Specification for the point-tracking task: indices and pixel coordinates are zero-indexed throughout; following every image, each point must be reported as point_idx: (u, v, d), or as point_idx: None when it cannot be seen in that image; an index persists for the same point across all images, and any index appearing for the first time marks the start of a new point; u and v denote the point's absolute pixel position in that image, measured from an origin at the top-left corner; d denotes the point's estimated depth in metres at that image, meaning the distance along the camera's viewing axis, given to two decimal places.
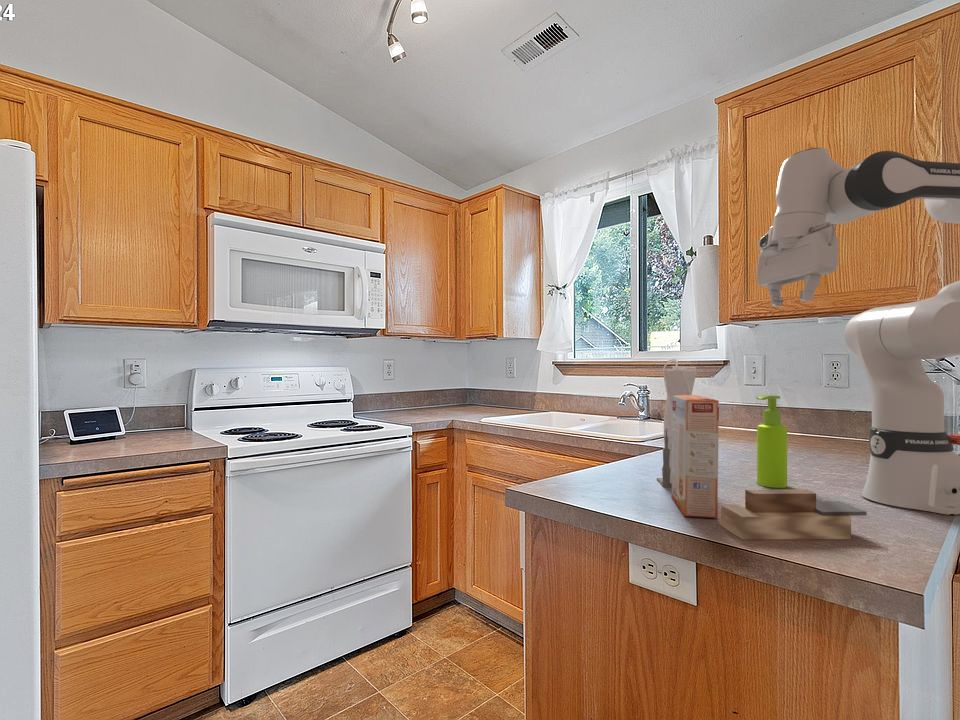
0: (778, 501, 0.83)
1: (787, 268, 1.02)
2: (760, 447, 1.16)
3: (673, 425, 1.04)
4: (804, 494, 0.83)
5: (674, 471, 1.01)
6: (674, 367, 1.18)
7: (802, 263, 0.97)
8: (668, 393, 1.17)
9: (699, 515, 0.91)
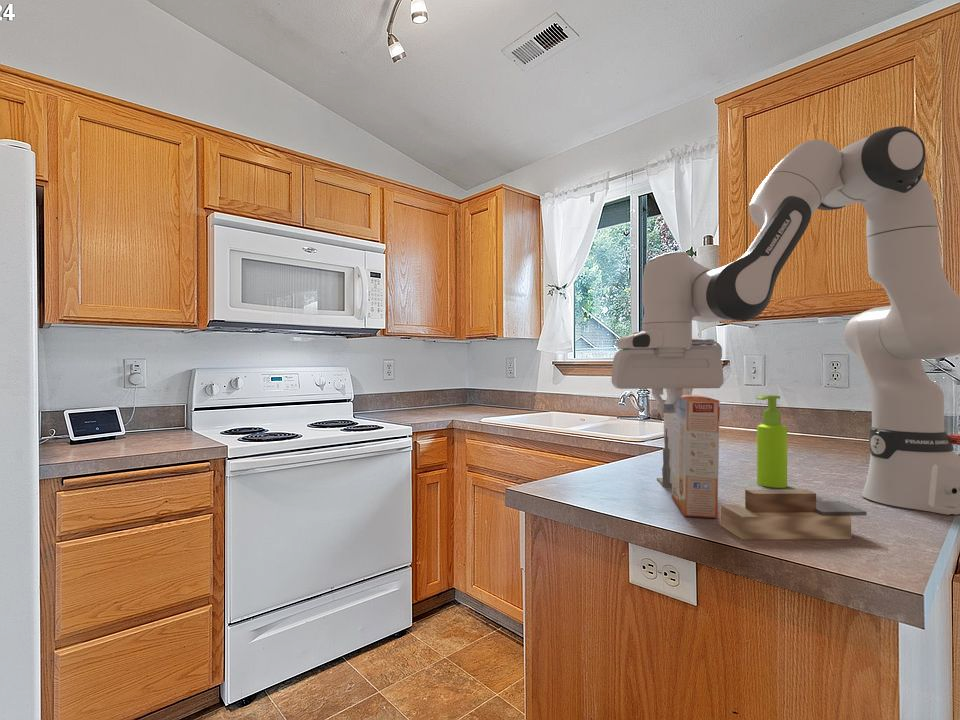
0: (778, 501, 0.83)
1: (675, 378, 0.96)
2: (760, 447, 1.16)
3: (674, 425, 1.04)
4: (804, 494, 0.83)
5: (674, 471, 1.01)
6: None
7: (699, 377, 0.96)
8: (668, 393, 1.17)
9: (699, 515, 0.91)
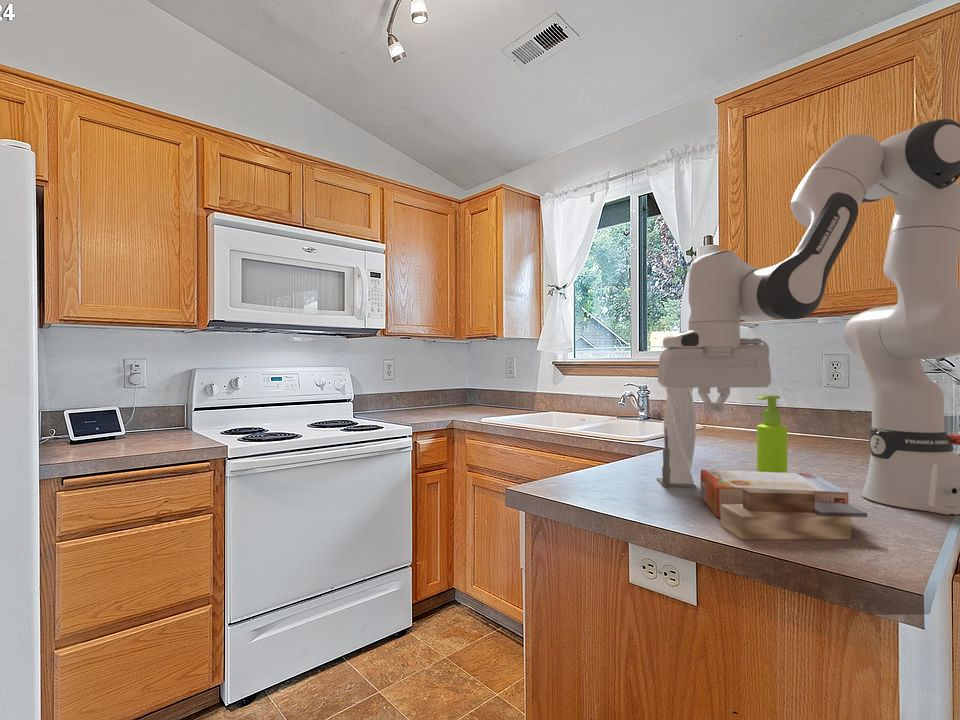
0: (775, 501, 0.83)
1: (722, 377, 0.96)
2: (760, 447, 1.16)
3: (783, 474, 1.00)
4: (802, 494, 0.83)
5: (737, 474, 1.00)
6: None
7: (747, 376, 0.96)
8: (668, 393, 1.17)
9: (719, 500, 0.91)
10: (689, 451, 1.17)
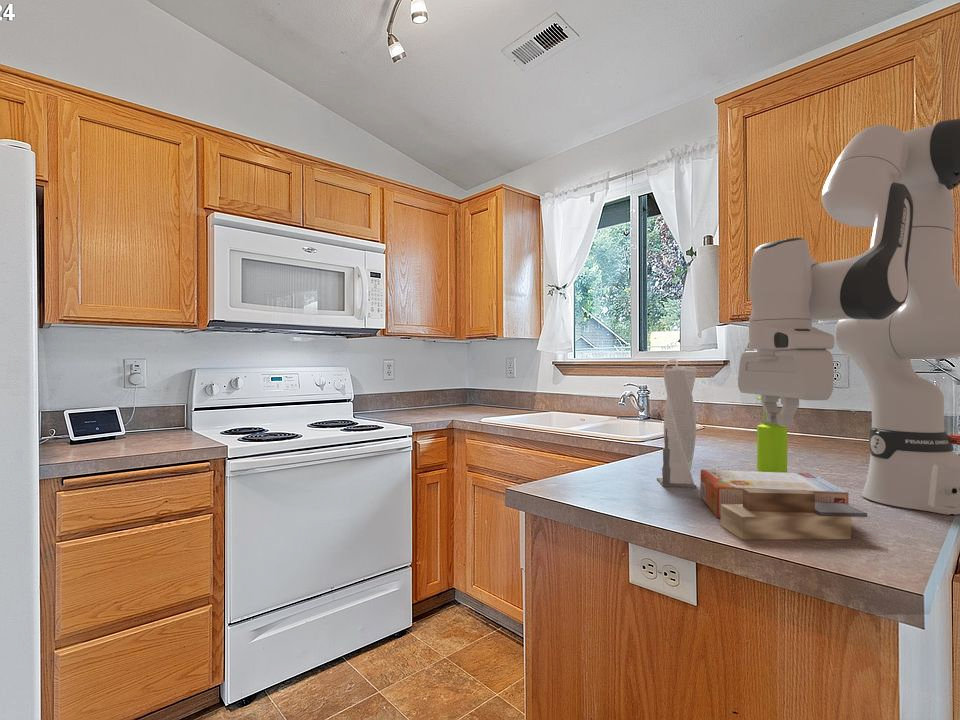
0: (775, 501, 0.83)
1: None
2: (760, 447, 1.16)
3: (783, 474, 1.00)
4: (802, 494, 0.83)
5: (737, 474, 1.00)
6: (674, 367, 1.18)
7: None
8: (668, 393, 1.17)
9: (719, 500, 0.91)
10: (689, 451, 1.17)
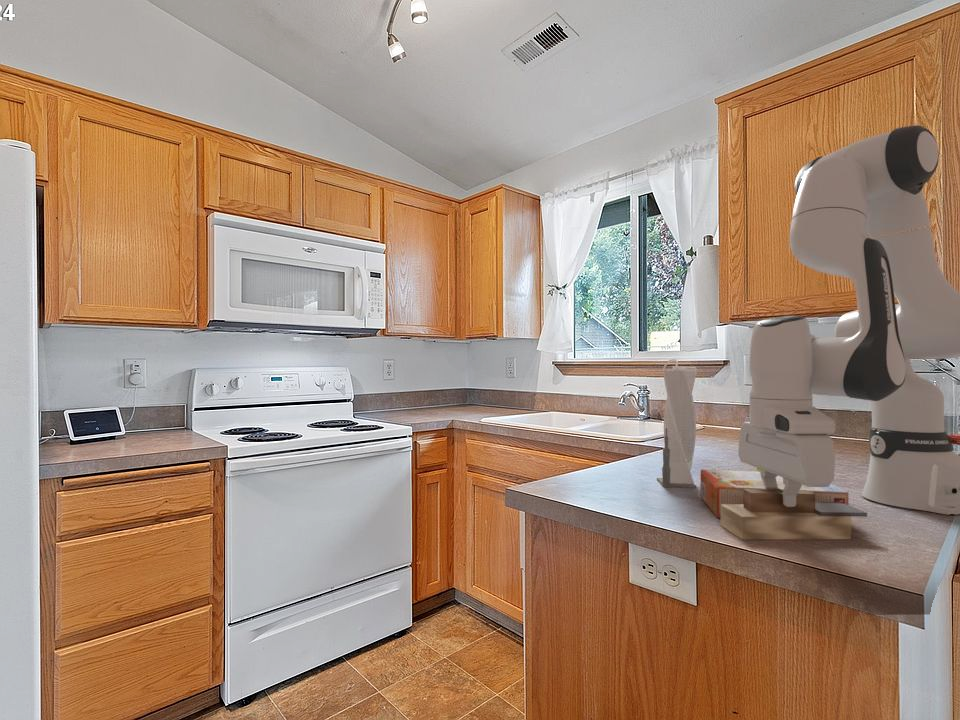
0: (776, 501, 0.83)
1: None
2: None
3: None
4: (803, 494, 0.83)
5: (737, 474, 1.00)
6: (674, 367, 1.18)
7: None
8: (668, 393, 1.17)
9: (719, 500, 0.91)
10: (689, 451, 1.17)
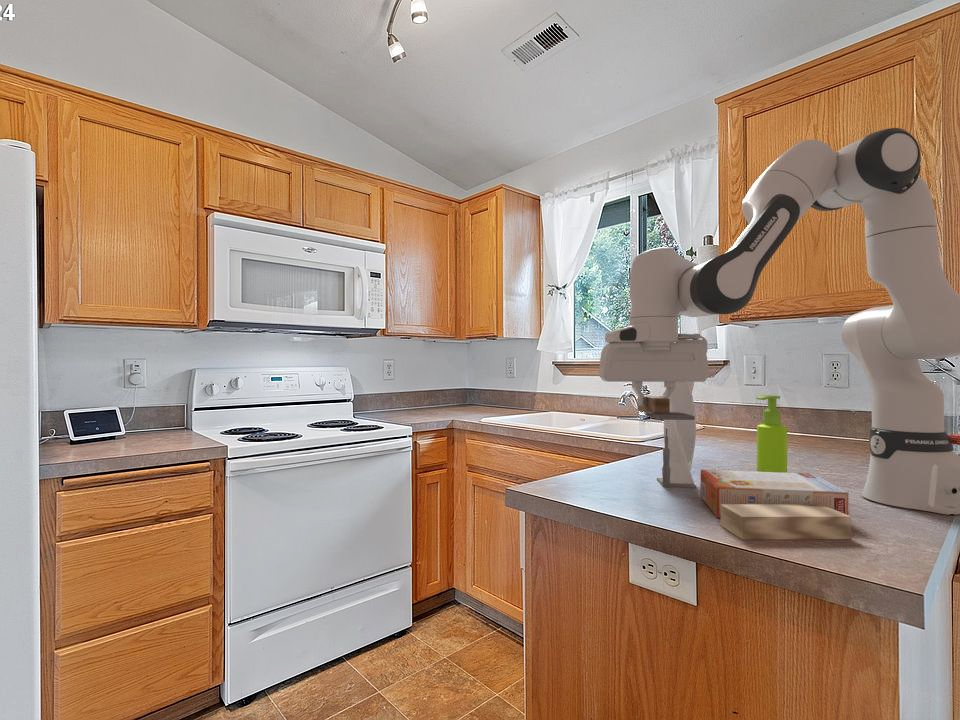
0: None
1: (661, 371, 0.98)
2: (760, 447, 1.16)
3: (783, 474, 1.00)
4: (651, 398, 0.97)
5: (737, 474, 1.00)
6: None
7: (685, 370, 0.98)
8: None
9: (719, 500, 0.91)
10: (689, 451, 1.17)
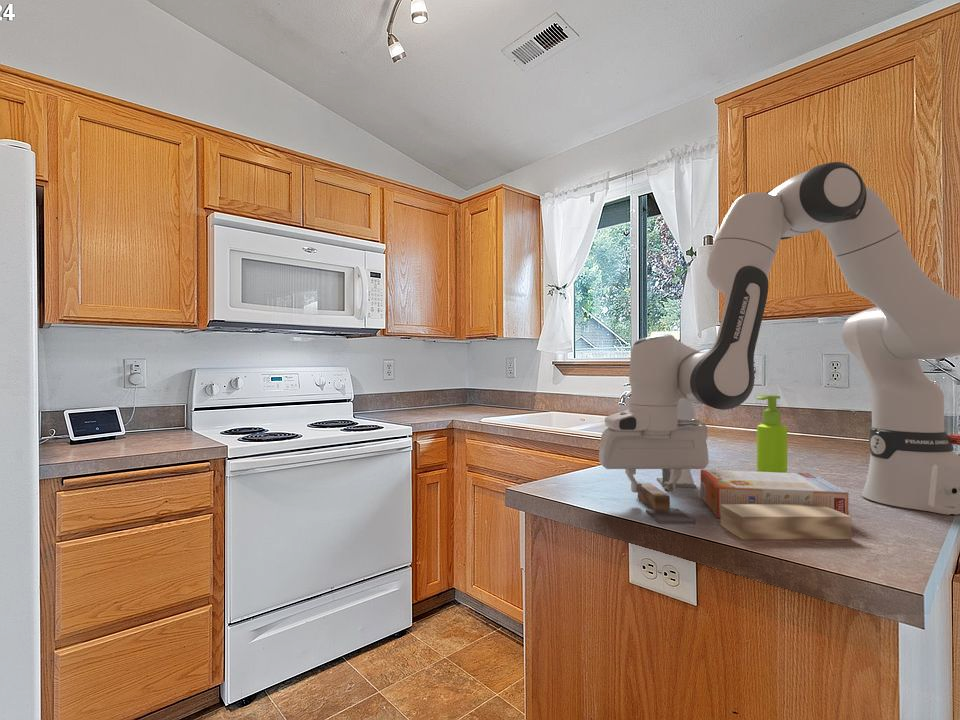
0: (644, 494, 1.01)
1: (660, 459, 0.98)
2: (760, 447, 1.16)
3: (783, 474, 1.00)
4: (651, 494, 0.97)
5: (737, 474, 1.00)
6: None
7: (684, 458, 0.98)
8: None
9: (719, 500, 0.91)
10: None
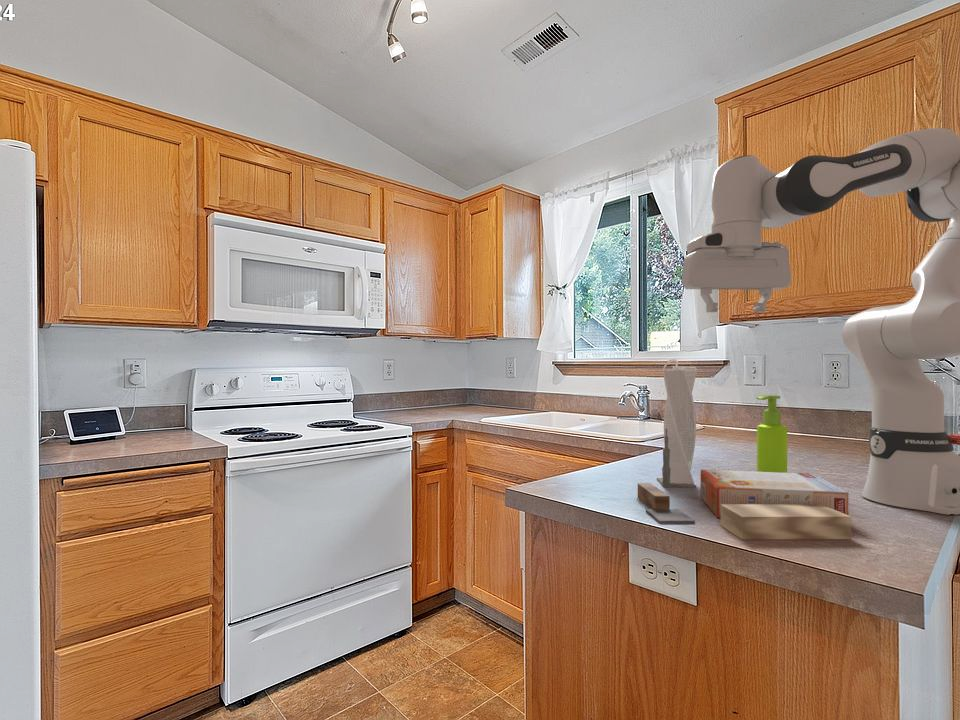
0: (644, 494, 1.01)
1: (744, 277, 1.00)
2: (760, 447, 1.16)
3: (783, 474, 1.00)
4: (651, 494, 0.97)
5: (737, 474, 1.00)
6: (674, 367, 1.18)
7: (768, 276, 1.01)
8: (668, 393, 1.17)
9: (719, 500, 0.91)
10: (689, 451, 1.17)
